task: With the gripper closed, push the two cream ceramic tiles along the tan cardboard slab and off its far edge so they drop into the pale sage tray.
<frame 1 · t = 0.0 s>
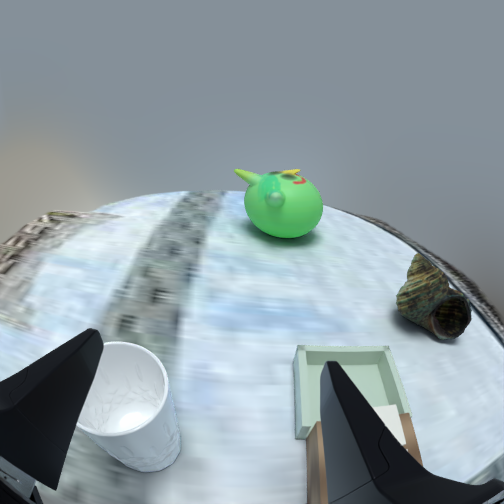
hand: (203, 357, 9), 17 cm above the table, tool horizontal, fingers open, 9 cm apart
seashell: (420, 328, 34), on the table
tan cardboard slab: (356, 484, 15), on the table
tray: (344, 397, 25), on the table
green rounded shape: (277, 234, 62), on the table
tile b: (370, 437, 17), point 4 cm above the table, touching tan cardboard slab
white cup: (146, 442, 19), on the table
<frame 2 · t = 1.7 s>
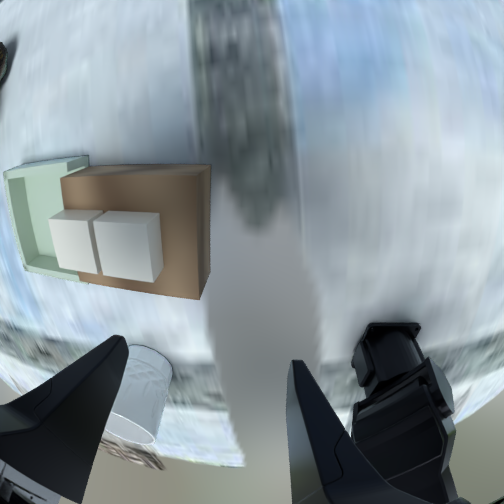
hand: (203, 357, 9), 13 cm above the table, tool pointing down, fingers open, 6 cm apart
tan cardboard slab: (145, 217, 21), on the table
tray: (57, 213, 22), on the table
tile a: (135, 239, 18), point 4 cm above the table, touching tan cardboard slab
tile b: (86, 234, 18), point 4 cm above the table, touching tan cardboard slab
white cup: (148, 361, 30), on the table
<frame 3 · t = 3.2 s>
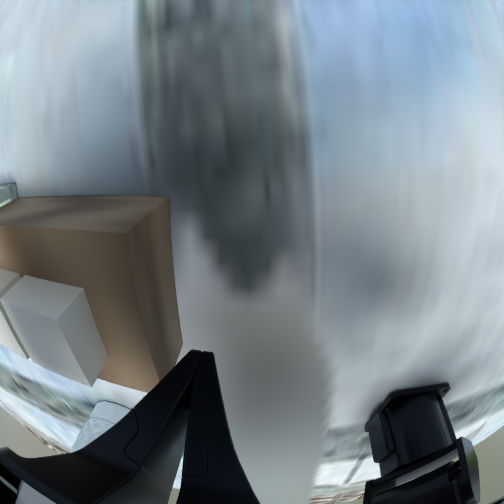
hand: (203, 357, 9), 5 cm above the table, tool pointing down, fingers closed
tan cardboard slab: (89, 271, 14), on the table
tile a: (64, 317, 10), point 4 cm above the table, touching tan cardboard slab
tile b: (12, 299, 10), point 4 cm above the table, touching tan cardboard slab
white cup: (125, 416, 23), on the table
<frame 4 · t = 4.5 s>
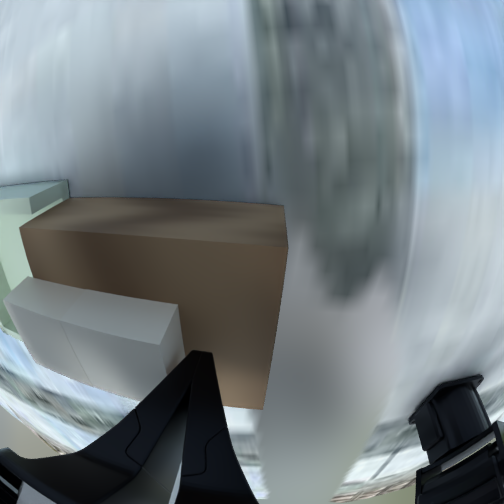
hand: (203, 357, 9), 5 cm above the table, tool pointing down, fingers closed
tan cardboard slab: (166, 282, 14), on the table
tray: (34, 262, 14), on the table
tile a: (137, 335, 10), point 4 cm above the table, touching tan cardboard slab, gripper
tile b: (66, 318, 10), point 4 cm above the table, touching tan cardboard slab
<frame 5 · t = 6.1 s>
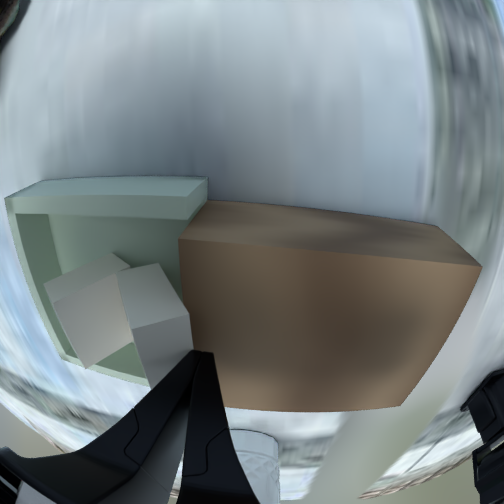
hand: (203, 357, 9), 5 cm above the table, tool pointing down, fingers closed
tan cardboard slab: (318, 297, 13), on the table
tray: (121, 276, 14), on the table
tile a: (176, 324, 11), point 3 cm above the table, tilted 54°, touching tan cardboard slab
tile b: (104, 320, 11), point 3 cm above the table, tilted 124°, touching tray
white cup: (243, 440, 22), on the table
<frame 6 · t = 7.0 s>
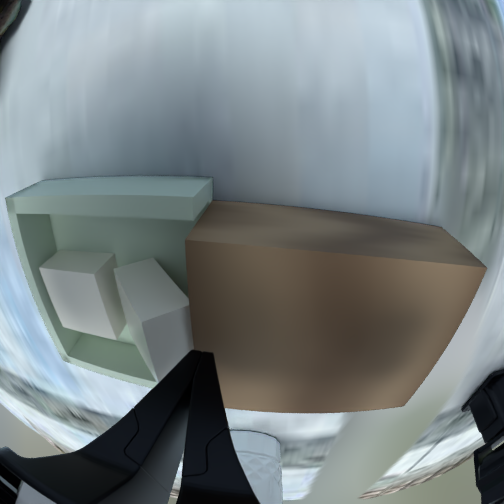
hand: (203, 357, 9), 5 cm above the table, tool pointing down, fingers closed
tan cardboard slab: (323, 298, 13), on the table
tray: (123, 277, 14), on the table
tile a: (174, 314, 12), point 2 cm above the table, tilted 47°, touching tan cardboard slab, tray
tile b: (75, 304, 12), point 3 cm above the table, tilted 180°, touching tray
white cup: (245, 440, 22), on the table
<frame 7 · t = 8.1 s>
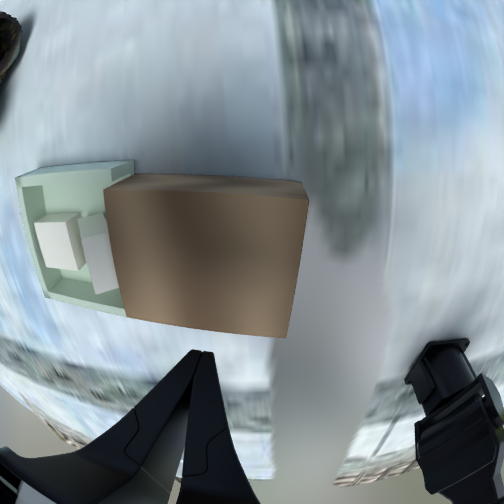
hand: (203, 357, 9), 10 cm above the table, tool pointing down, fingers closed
seashell: (3, 82, 13), on the table
tan cardboard slab: (211, 240, 19), on the table
tray: (87, 230, 19), on the table
tile a: (111, 248, 17), point 2 cm above the table, tilted 47°, touching tan cardboard slab, tray
tile b: (54, 246, 17), point 3 cm above the table, tilted 180°, touching tray
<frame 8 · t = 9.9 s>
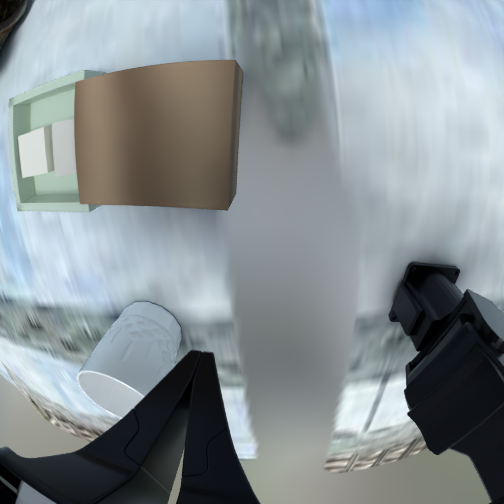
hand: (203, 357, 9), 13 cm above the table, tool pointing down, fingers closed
seashell: (9, 38, 12), on the table
tan cardboard slab: (165, 132, 18), on the table
tray: (62, 142, 18), on the table
tile a: (77, 144, 16), point 2 cm above the table, tilted 47°, touching tan cardboard slab, tray
tile b: (31, 153, 16), point 3 cm above the table, tilted 180°, touching tray
white cup: (152, 324, 27), on the table
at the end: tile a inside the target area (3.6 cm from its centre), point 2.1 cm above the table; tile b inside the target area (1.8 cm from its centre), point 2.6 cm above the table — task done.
